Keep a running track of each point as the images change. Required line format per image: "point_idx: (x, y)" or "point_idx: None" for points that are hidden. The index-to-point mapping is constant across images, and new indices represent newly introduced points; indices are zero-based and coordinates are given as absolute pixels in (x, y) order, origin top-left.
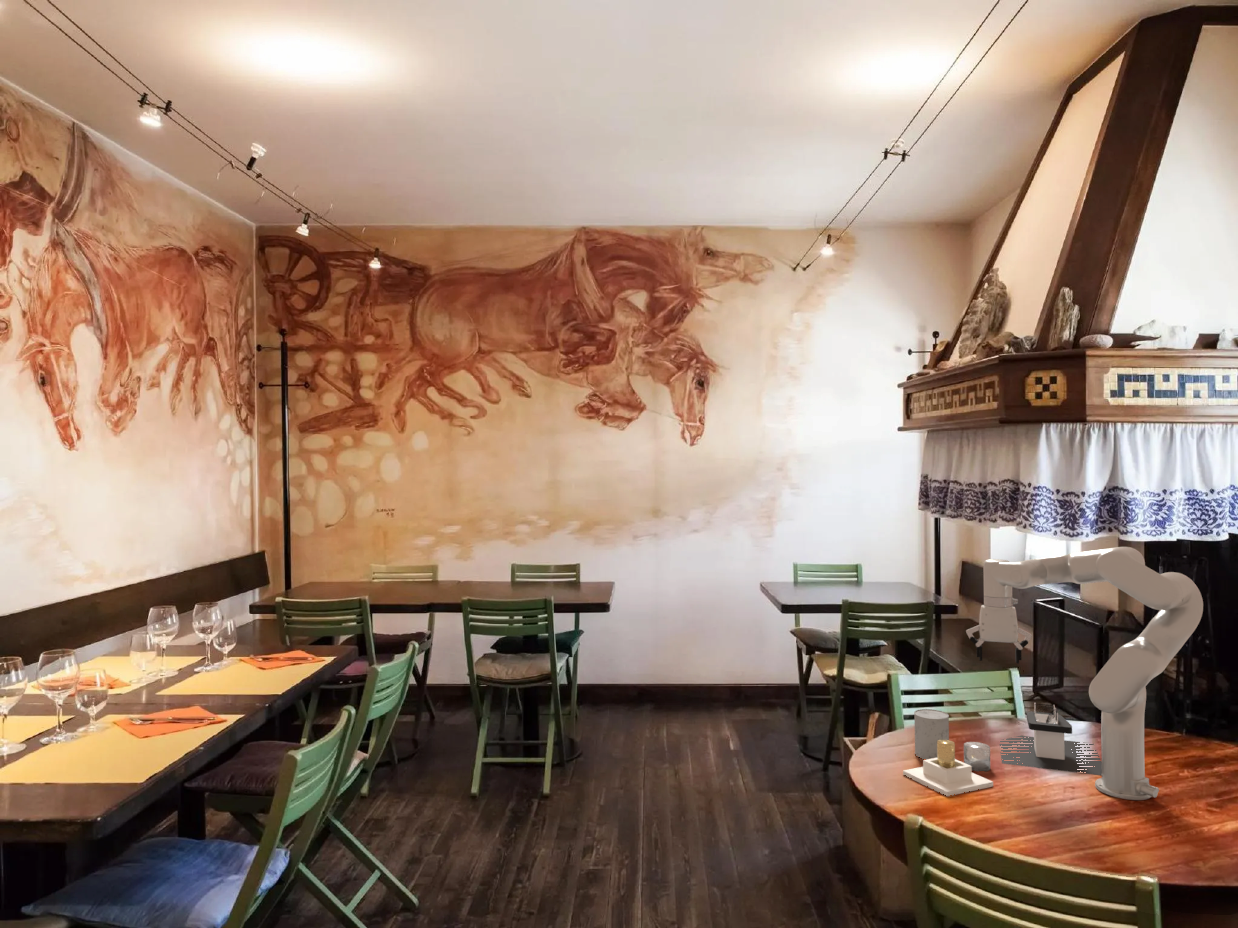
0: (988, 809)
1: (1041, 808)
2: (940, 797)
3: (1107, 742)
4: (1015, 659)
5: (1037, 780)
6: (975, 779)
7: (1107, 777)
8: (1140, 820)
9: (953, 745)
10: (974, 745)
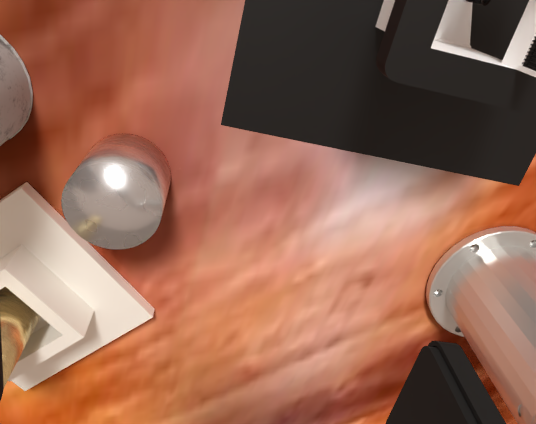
0: (122, 421)
1: (240, 398)
2: (13, 388)
3: (510, 408)
4: (430, 354)
5: (290, 251)
6: (105, 309)
7: (458, 323)
8: None
9: None
10: (103, 204)
